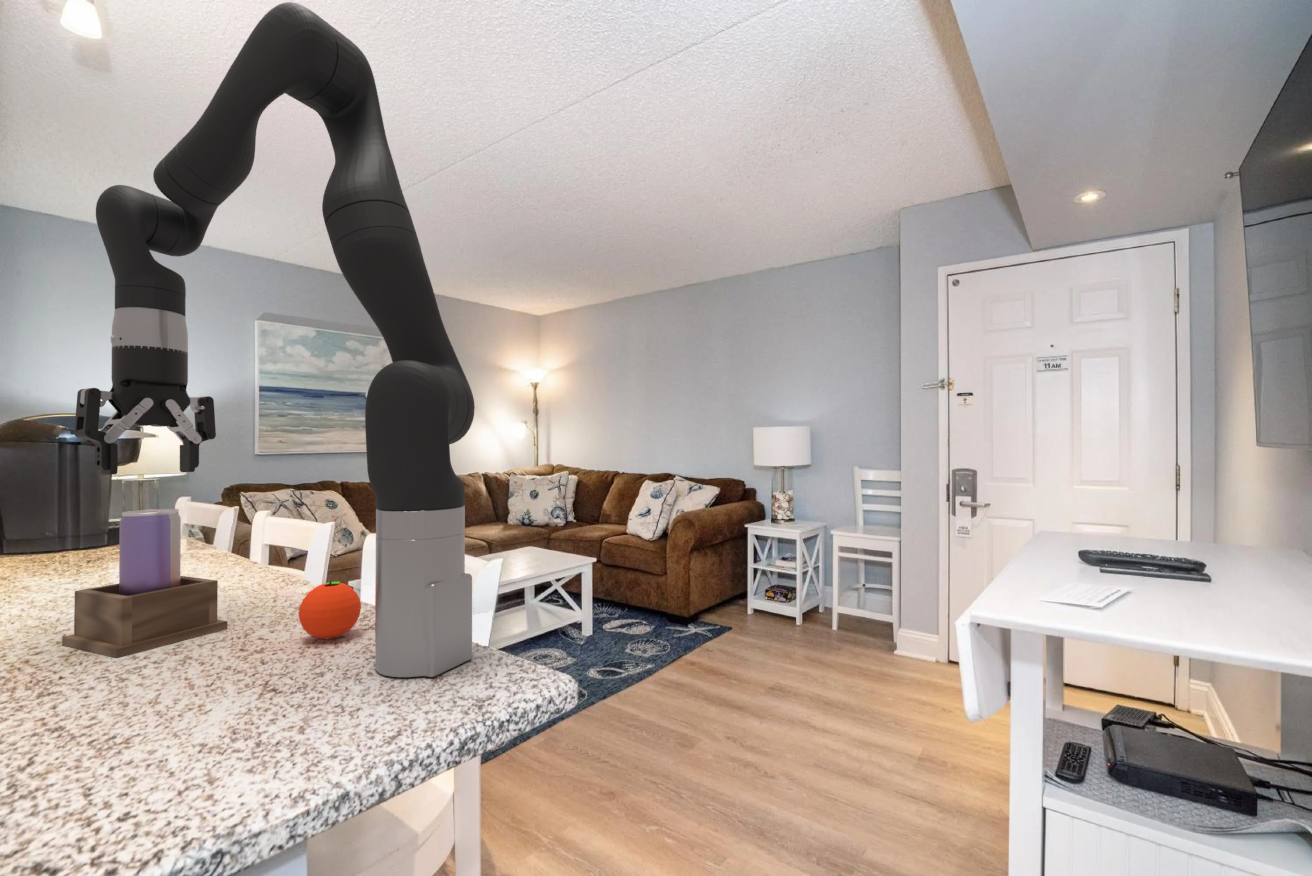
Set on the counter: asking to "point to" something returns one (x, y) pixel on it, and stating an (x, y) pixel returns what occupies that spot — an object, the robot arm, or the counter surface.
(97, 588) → the open wooden box
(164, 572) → the beverage can
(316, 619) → the clementine
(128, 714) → the counter surface
